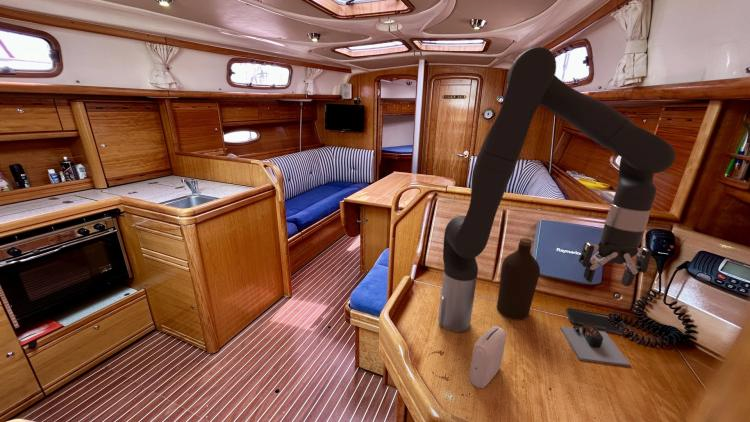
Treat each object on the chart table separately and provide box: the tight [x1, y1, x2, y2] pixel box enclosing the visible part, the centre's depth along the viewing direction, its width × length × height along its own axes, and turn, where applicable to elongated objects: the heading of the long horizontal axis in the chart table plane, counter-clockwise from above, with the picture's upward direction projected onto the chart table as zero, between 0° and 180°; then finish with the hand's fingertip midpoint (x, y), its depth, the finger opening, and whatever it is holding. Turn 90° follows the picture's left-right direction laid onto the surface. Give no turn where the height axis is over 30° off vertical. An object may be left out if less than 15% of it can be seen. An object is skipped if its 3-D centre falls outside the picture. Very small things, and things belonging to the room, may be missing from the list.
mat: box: [560, 326, 631, 367], centre depth 83 cm, size 12×12×1 cm
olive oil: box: [496, 237, 541, 321], centre depth 93 cm, size 11×11×25 cm
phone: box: [565, 307, 629, 336], centre depth 92 cm, size 8×1×15 cm
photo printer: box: [468, 325, 507, 389], centre depth 72 cm, size 10×4×12 cm, turn 133°
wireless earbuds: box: [572, 323, 603, 348], centre depth 84 cm, size 5×7×3 cm, turn 167°
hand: (606, 282), depth 78 cm, fingers open, 8 cm apart
